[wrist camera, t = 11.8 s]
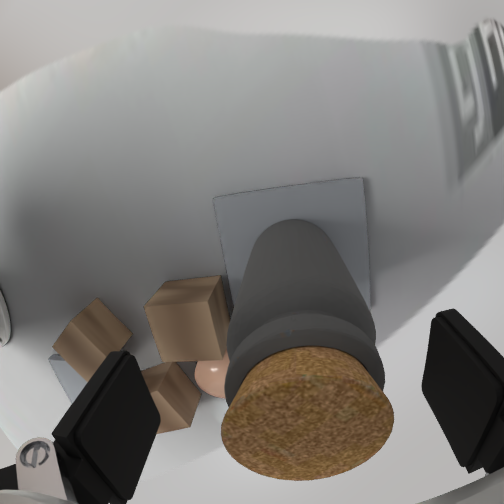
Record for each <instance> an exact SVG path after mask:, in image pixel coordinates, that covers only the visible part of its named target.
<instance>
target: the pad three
mask: <svg viewBox="0 0 504 504" xmlns="http://www.w3.org/2000/svg"><path fill="white" fill-rule="evenodd" d="M213 203H214V208H215V214H216V219H217V224H218V230H219V235H220V240H221V245H222V250H223V255H224V261H225V266H226V271H227V276H228V280H229V285H230V290H231V295H232V300H233V305H235V302H236V299H237V295H238V292H239V289H240V286H241V282H242V279H243V276H244V272H245V269H246V266H247V263H248V260H249V257H250V254H251V251H252V248H253V246H254V244H255V242H256V240H257V238H258V237H259V236H260V235H261V234H262V232H263V231H264V230H266V229H267V228H268V227H270V226H271V225H273V224H275V223H277V222H280V221H284V220H290V219H298V220H304V221H307V222H310V223H313V224H315V225H316V226H318V227H319V228H321V229H322V230H323V231H324V232H325V233H326V234H327V236H328V237H329V238H330V240H331V241H332V243H333V244H334V246H335V248H336V249H337V251H338V252H339V254H340V256H341V258H342V260H343V261H344V263H345V265H346V267H347V269H348V270H349V272H350V274H351V276H352V278H353V280H354V281H355V283H356V285H357V287H358V289H359V291H360V293H361V294H362V296H363V298H364V300H365V302H366V304H367V306H368V308H369V310H370V267H369V246H368V230H367V217H366V205H365V195H364V186H363V178H360V177H358V178H348V179H339V180H331V181H322V182H314V183H306V184H298V185H291V186H284V187H276V188H269V189H263V190H256V191H249V192H243V193H237V194H230V195H224V196H218V197H215V198H213Z"/></svg>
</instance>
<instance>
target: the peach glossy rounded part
mask: <svg viewBox="0 0 504 504" xmlns="http://www.w3.org/2000/svg"><path fill="white" fill-rule="evenodd" d="M229 363H230V361H229V357H228V353H227V346H226V350H225V353H224V357H223V360H212V361H197V364H196V369H195V380H196V383H197V384H198V386H199V387H200V388H201V389H202V390H203V391H205V392H206V393H208V394H210V395H212V396H215V397H219V398H225V392H224V384H225V377H226V373H227V369H228V365H229Z"/></svg>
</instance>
